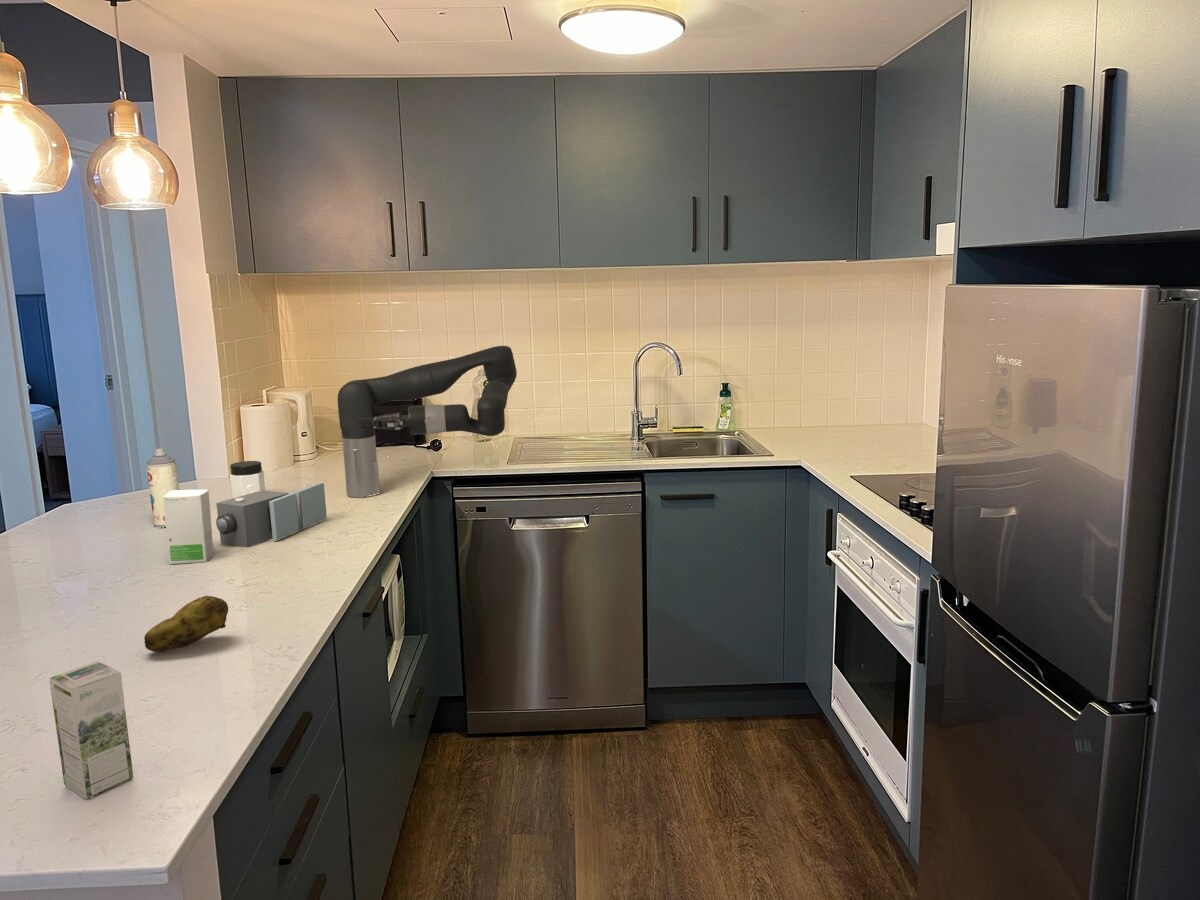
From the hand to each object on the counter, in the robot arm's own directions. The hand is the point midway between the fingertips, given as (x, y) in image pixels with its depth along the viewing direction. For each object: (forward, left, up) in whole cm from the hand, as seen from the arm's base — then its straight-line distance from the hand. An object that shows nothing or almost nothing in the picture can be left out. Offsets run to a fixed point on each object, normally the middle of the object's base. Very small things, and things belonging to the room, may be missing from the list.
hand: (358, 423), depth 224 cm
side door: (+16, +6, -25) cm, 31 cm away
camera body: (+27, +8, -25) cm, 38 cm away
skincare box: (+39, +20, -25) cm, 51 cm away
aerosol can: (+49, -16, -25) cm, 58 cm away
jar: (+30, -30, -25) cm, 49 cm away
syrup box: (+38, +117, -25) cm, 126 cm away
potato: (+33, +75, -25) cm, 85 cm away
